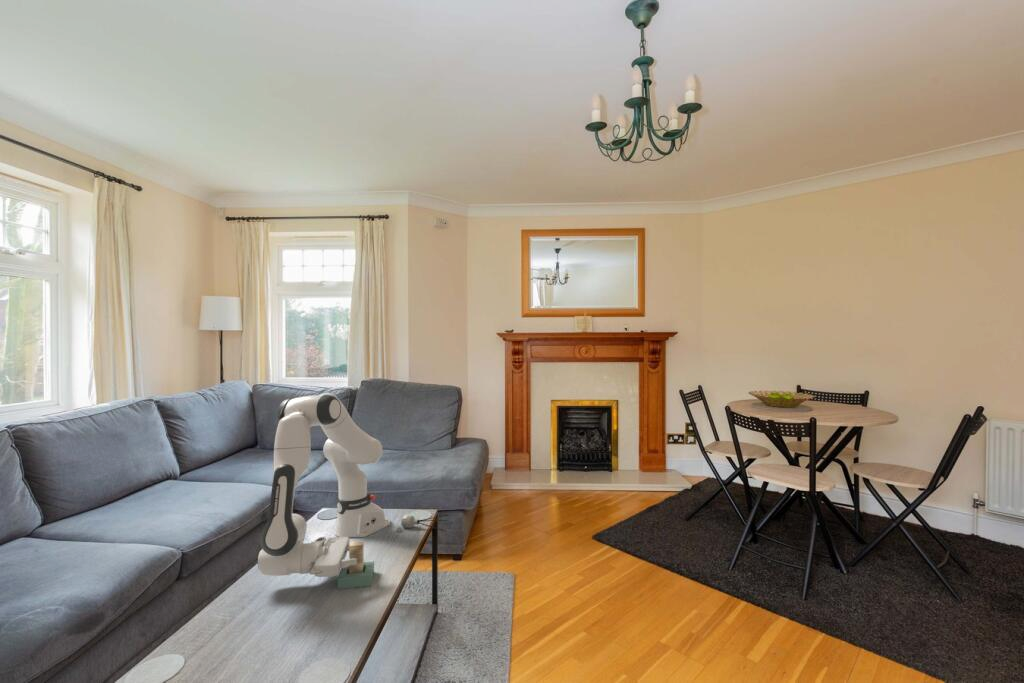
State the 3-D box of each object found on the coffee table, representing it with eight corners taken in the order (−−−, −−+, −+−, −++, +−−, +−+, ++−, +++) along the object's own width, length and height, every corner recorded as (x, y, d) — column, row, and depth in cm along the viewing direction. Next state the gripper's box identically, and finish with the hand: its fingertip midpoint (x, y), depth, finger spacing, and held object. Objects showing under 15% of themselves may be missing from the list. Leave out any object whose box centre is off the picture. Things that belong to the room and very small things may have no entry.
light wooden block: (349, 583, 144) (349, 546, 144) (350, 578, 147) (350, 541, 147) (362, 582, 144) (362, 545, 144) (363, 577, 147) (363, 541, 147)
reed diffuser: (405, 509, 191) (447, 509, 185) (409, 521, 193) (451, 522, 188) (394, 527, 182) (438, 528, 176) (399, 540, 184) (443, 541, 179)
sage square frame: (337, 589, 140) (337, 578, 140) (342, 574, 149) (342, 564, 149) (370, 585, 142) (370, 575, 142) (373, 571, 151) (373, 561, 151)
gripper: (305, 563, 133) (354, 559, 135) (321, 534, 153) (363, 531, 156) (305, 584, 133) (354, 580, 135) (321, 552, 153) (363, 549, 156)
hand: (359, 553), depth 146 cm, fingers open, 8 cm apart
